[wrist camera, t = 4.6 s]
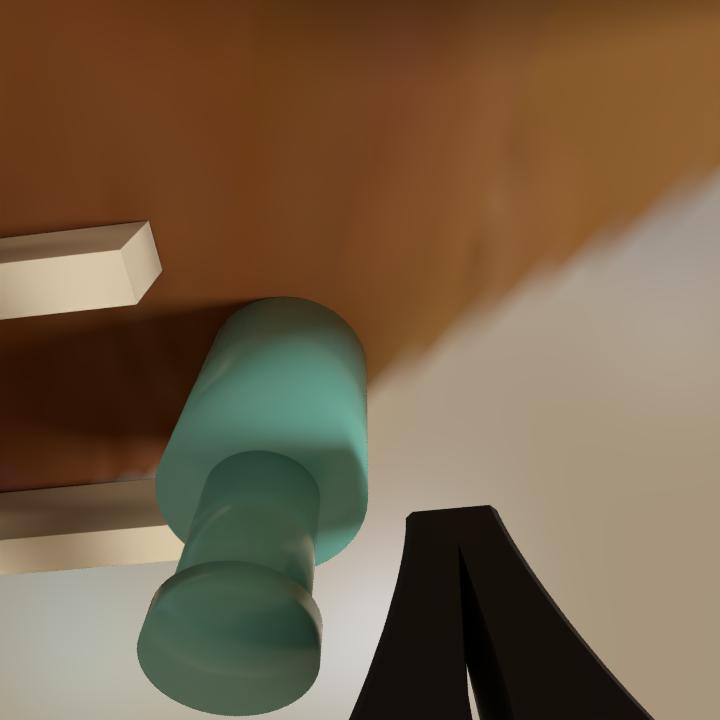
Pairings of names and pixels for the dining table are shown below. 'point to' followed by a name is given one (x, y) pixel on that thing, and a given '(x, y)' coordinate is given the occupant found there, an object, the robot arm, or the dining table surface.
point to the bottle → (258, 508)
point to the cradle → (97, 501)
